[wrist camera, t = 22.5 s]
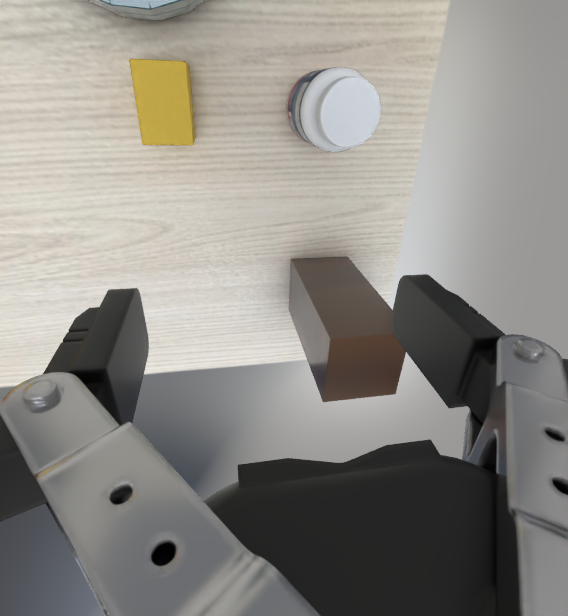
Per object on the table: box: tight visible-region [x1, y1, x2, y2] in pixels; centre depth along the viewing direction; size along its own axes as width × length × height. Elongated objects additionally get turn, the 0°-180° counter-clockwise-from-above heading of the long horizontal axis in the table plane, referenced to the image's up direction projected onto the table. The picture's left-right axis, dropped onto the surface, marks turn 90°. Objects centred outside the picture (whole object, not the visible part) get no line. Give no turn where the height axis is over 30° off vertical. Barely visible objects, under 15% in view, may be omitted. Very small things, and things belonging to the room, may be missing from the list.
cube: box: [130, 59, 195, 145], centre depth 26 cm, size 5×4×4 cm
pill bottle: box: [287, 67, 381, 152], centre depth 27 cm, size 5×5×9 cm
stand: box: [289, 257, 406, 402], centre depth 33 cm, size 6×6×14 cm
